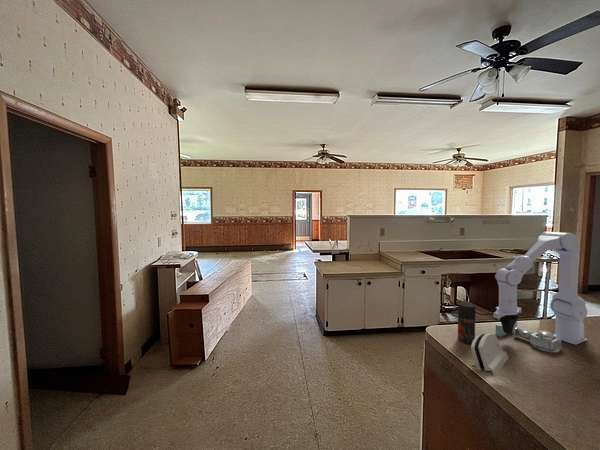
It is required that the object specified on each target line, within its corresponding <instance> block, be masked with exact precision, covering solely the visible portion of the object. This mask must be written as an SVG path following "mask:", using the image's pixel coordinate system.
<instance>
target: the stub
mask: <svg viewBox="0 0 600 450" xmlns="http://www.w3.org/2000/svg"><path fill="white" fill-rule="evenodd" d="M537 332H538V334H539V337H541V338H544V339H547V340H553V337H554V334H555V333H552V332H550V331H546V330H538V331H537ZM531 346H532V347H533V348H535V349H537V350H540V351H542V352H547V353H554V354H555V353H560V351H561V348H559V349H557V350H554V351H551V350H547V349H544V348H541V347H538V346H536V345H533V344H532V343H531Z"/></svg>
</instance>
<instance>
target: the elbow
mask: <svg viewBox="0 0 600 450" xmlns="http://www.w3.org/2000/svg"><path fill="white" fill-rule="evenodd" d="M512 334H513V336H515V337H519V338H522V339H525V340H528V341H529V343H530V344H531V345H532V344H533V345H536V346H538V347H541V348H544V349H547V350H551V351H554V350H557V349H561V348H562V340H561V338H559V337H556V336H554V337H553V340H547V339H544V338H541V337H539V334H538V331H536V332H531V331H527V330H524V329H520V327H517V328H514V331H513V333H512Z"/></svg>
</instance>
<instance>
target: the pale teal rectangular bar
mask: <svg viewBox="0 0 600 450" xmlns="http://www.w3.org/2000/svg"><path fill="white" fill-rule="evenodd" d="M514 328H518V320H517V321H516V323H515V325H514V327H513V331H514ZM513 331H512V333H511V334H513ZM506 334H507V333H505V332H504V331H503V327H502V324H501V322H500V323H497V324H495V335H496V337H499V336H500V337H503V336H506ZM502 335H503V336H502ZM507 335H508V334H507Z"/></svg>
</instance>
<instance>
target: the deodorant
mask: <svg viewBox="0 0 600 450" xmlns="http://www.w3.org/2000/svg"><path fill="white" fill-rule="evenodd" d="M475 337H476V305H475V304H474V303H471V302H468V301H467V302H465V301H460V302H458V303H457V341H458V342H459V343H461V344H464V345H468V346H469V345H472V342H473V340H474V339H475Z"/></svg>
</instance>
